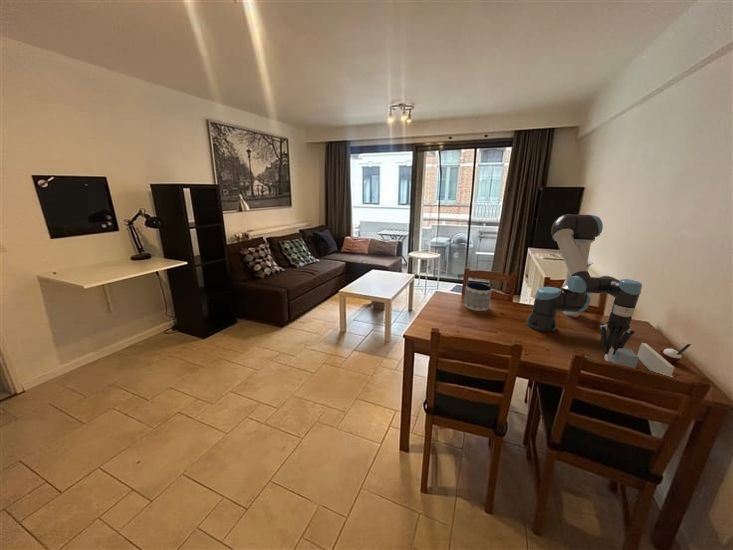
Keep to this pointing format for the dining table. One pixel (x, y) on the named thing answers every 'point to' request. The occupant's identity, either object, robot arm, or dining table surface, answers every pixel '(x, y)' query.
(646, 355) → the board
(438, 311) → the dining table surface
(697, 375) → the dining table surface
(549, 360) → the dining table surface
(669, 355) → the cocoa
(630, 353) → the block
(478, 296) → the planter
